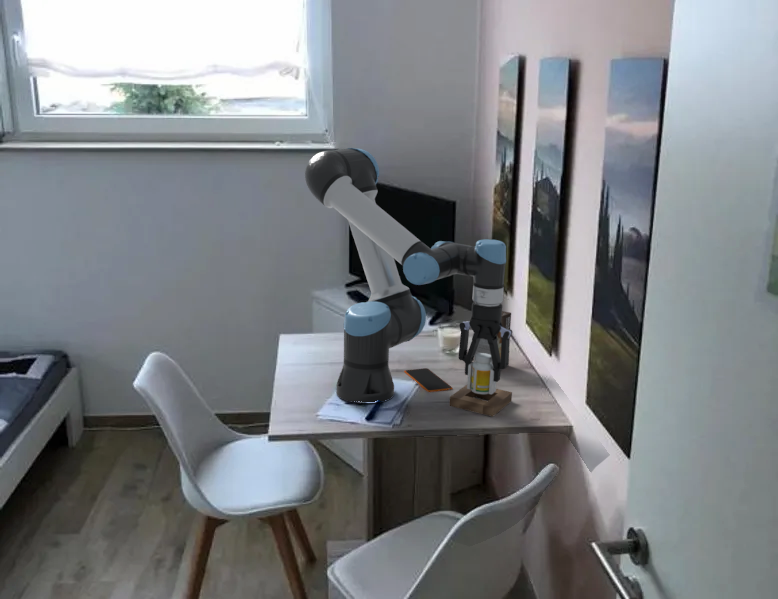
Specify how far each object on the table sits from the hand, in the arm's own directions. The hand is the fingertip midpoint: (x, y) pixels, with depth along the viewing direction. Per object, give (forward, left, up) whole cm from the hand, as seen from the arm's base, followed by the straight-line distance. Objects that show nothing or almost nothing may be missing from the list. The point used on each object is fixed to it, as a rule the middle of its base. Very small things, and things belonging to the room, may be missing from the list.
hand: (481, 389), depth 216 cm
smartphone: (-19, +7, -4) cm, 21 cm away
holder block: (0, 0, -4) cm, 4 cm away
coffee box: (-9, +27, -4) cm, 29 cm away
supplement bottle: (0, 0, -1) cm, 1 cm away
